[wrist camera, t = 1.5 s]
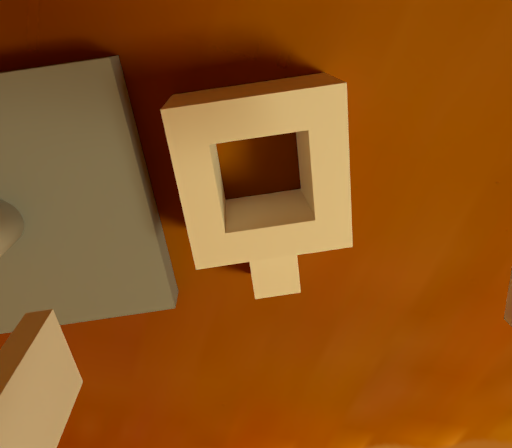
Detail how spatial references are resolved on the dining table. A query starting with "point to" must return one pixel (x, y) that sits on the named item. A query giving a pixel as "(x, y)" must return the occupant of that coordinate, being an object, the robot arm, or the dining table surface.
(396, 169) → the dining table surface
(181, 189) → the square ring
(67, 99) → the post board
